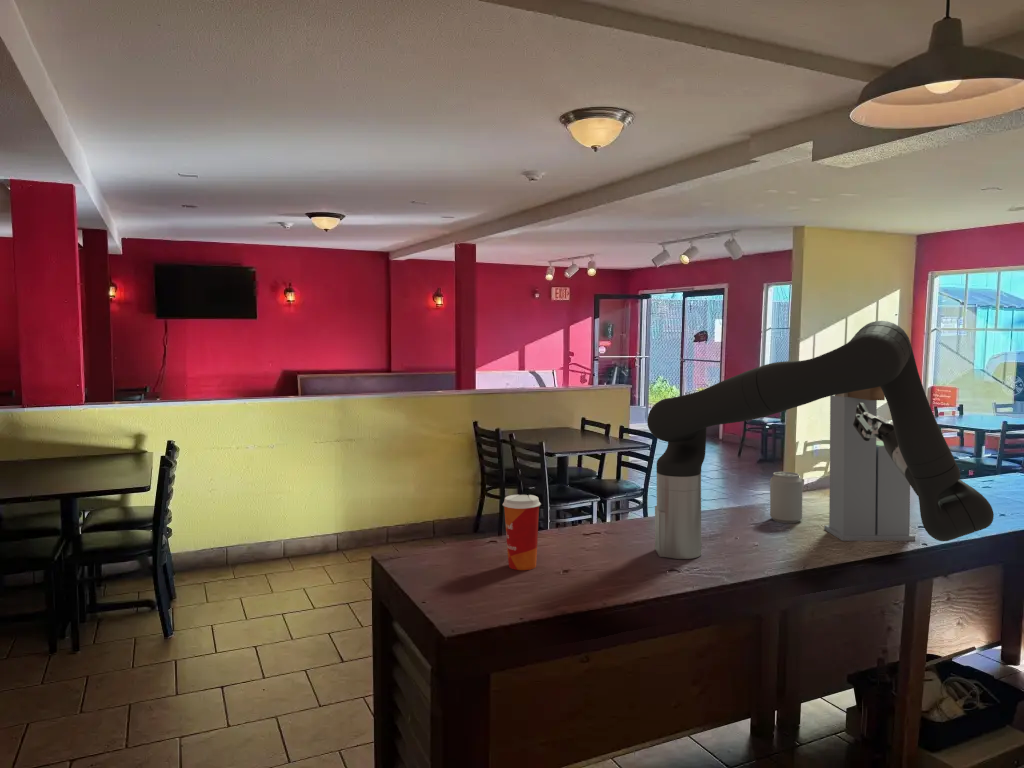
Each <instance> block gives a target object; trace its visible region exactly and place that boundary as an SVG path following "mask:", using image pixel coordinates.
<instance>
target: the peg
mask: <svg viewBox="0 0 1024 768" xmlns="http://www.w3.org/2000/svg"><path fill="white" fill-rule="evenodd" d="M834 396H841V397H852V398H858V399H865V400H877V401H886V398H885V395H884V393H883V391H882V389H881V387H875V388H871V389H865V390H859V391H854V392H848V393H843V394H837V395H834Z"/></svg>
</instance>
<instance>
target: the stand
mask: <svg viewBox="0 0 1024 768" xmlns="http://www.w3.org/2000/svg"><path fill="white" fill-rule="evenodd" d="M829 399H830V400H829V401H830V402H829V407H830V408H829V423H830V424H829V501H828V502H829V506H828V507H829V512H828V513H829V516H828V519H829V520H828V521H829V523H828V524H826V525H825V524H824V531H826V532H828V533H829V534H831V535H833V536H834V537H835V538H837V539H838V538H839V540H840V541H842V542H844V541H845V542H847V541H850V542H851V541H852V542H854V541H859V542H861V541H862V542H864V541H866V542H867V541H870V542H873V541H874V542H876V541H877V542H879V541H881V542H883V540H885V541H886V540H887V541H888V542H889V541H890V542H891V541H893V542H894V541H899V542H902V541H904V542H906V541H910V542H912V541H913V542H914V541H916V535H914V534H912V533H910V526H911V525H910V524H911V522H910V521H911V520H910V519H911V513H910V512H911V511H910V510H911V508H910V507H911V485H910V484H909V482H908V481H907V479H906V478H905V477H904V476H903V475H902V473H901V472H900V471H899V469H898V468H897V466H896V465H895V463H894V462H893V460H892V459H891V457H890V456H889V454H888V452H887V451H886V449H885V447H884V443H883V441H881V440H877V437H874V438H870V440H869V441H865V440H863V438H862V437H861V435H860V434H859V433H858V431H857V430H856V428H855V427H854V426H853V423H854V420H855V415H856V414H857V413H856V408H857V405H859V403H864V405H865V406H866V408H867V409H868V411H869V413H870V414H872V415H874V416H878V415H877V413H878V412H877V411H878V409H877V406H878V405H877V404H878V400H865V399H858V398H852V397H841V396H835V395H833V396H829ZM868 422H870V423H872V420H870V419H869V420H868ZM885 541H884V542H885Z"/></svg>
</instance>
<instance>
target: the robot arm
mask: <svg viewBox="0 0 1024 768" xmlns="http://www.w3.org/2000/svg"><path fill="white" fill-rule="evenodd" d="M875 387H881V389H882V391H883V393H884V395H885V401H886V404H887V406H888V410H889V414H890V417H891V419H890V418H889V419H886V418H885V417H883V416H880V415H877V416H874V415H872V414H870V413H869V411H868V409H867V408H866V406H865V405H864V403H859V405H857V408H856V413H857V414H856V415H855V420H854V423H853V426H854V427H855V428H856V430H857V431H858V433H859V434H860V435H861V437H862V438H863V440H865V441H869V440H870V438H874V437H876V439H878V440H879V441H883V443H884V447H885V449H886V451H887V452H888V454H889V456H890V457H891V459H892V460H893V462H894V463H895V465H896V466H897V468H898V469H899V471H900V472H901V473H902V475H903V476H904V477H905V478H906V479H907V481H908V482H909V484H910V488H912V490H913V492H914V493H915V494H916V496H917V498H918V503H919V504H918V505H919V515H920V518H921V519H920V520H921V524H922V527H924V530H925V531H926V533H927V534H928V535H929V536H930V537H931V538H932V539H934V540H936V541H939V542H949V541H952V540H955V539H959V538H961V537H964V536H967V535H970V534H972V533H976V532H980V531H982V530H985V529H987V528H989V527H990V526H991V525H992V523H993V522H994V516H995V515H994V514H995V513H994V510H993V507H992V505H991V504H990V502H989V501H988V500H987V498H986V497H985V496H984V495H983V494H982V493H981V492H979V491H978V490H977V489H975V488H974V487H972V486H971V485H969V484H967V482H964V481H963V480H961V479H960V478H961V470H960V468H959V466H958V464H957V462H956V460H955V458H954V457H955V456H954V455H953V453H952V451H951V448H950V446H949V445H948V443H947V441H946V439H945V437H944V435H943V433H942V431H941V428H940V426H939V424H938V422H937V420H936V418H935V415H934V412H933V410H932V407H931V405H930V403H929V400H928V397H927V395H926V392H925V389H924V386H923V383H922V380H921V376H920V373H919V371H918V366H917V362H916V359H915V355H914V351H913V347H912V343H911V340H910V338H909V336H908V334H907V333H906V331H905V330H904V329H903V328H901V327H900V326H899V325H897V324H896V323H894V322H892V321H891V322H890V321H888V320H876V321H872V322H869V323H866V324H865V325H864V326H862V327H861V328H860V329H859V330H858V331H857V332H855V334H854V336H853V337H852V338H851V339H850V340H849V341H848V342H846V343H844V344H843V345H841V346H839V347H837V348H835V349H832V350H830V351H827V352H826V353H823V354H820V355H818V356H816V357H813V358H808V359H804V360H789V361H775V362H771V363H767V364H764V365H761V366H757V367H755V368H752V369H749V370H747V371H744V372H742V373H740V374H737V375H734V376H731V377H728V378H727V379H724V380H722V381H719V382H717V383H715V384H713V385H710V386H708V387H706V388H703V389H702V390H701V389H700V390H698V391H695V392H692V393H688V394H684V395H683V394H682V395H680V396H679V395H678V396H674V397H667V398H663V399H661V400H659V401H658V402H655V404H654V405H653V406H652V407H651V408H650V410H649V413H648V415H647V420H646V421H647V423H646V424H647V427H648V430H649V432H650V434H652V436H654V437H655V438H656V439H658V440H660V441H662V442H667V447H666V449H665V451H664V452H663V454H662V455H661V456H659V458H658V459H657V460H656V505H655V506H654V549H655V552H656V553H657V555H658V557H660V558H668V559H675V560H677V559H678V560H688V559H689V560H690V559H695V558H698V557H700V556H701V555H702V547H703V546H702V545H703V544H702V467H703V464H704V461H705V457H706V445H707V428H710V427H714V426H718V425H726V424H727V425H728V424H734V423H735V424H736V423H742V422H746V421H751V420H757V419H762V418H765V417H768V416H772V415H775V414H779V413H782V412H785V411H788V410H791V409H794V408H797V407H798V408H799V407H800V406H804V405H806V404H810V403H813V402H816V401H818V400H820V399H824V398H828V397H830V396H835V395H837V394H843V393H848V392H854V391H859V390H865V389H871V388H875ZM869 419H870V420H872V423H870V422H868V420H869ZM879 423H880V425H879ZM878 426H879V427H878Z"/></svg>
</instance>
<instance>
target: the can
mask: <svg viewBox="0 0 1024 768" xmlns="http://www.w3.org/2000/svg"><path fill="white" fill-rule="evenodd" d="M772 475H773V476H772V477H771V478H770V480H769V481H770V482H769V484H770V485H769V487H770V488H769V489H770V490H769V491H770V492H769V495H770V496H769V497H770V498H769V503H770V504H769V508H770V509H769V513H770V514H769V517H770V518H771V519H772V520H773V521H775V522H777V523H782V524H797V523H799V522H800V521H801V520H802V518H803V480H802V478H801V477H800V474H799V473H798V472H793V471H775V472H773V473H772Z"/></svg>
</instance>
